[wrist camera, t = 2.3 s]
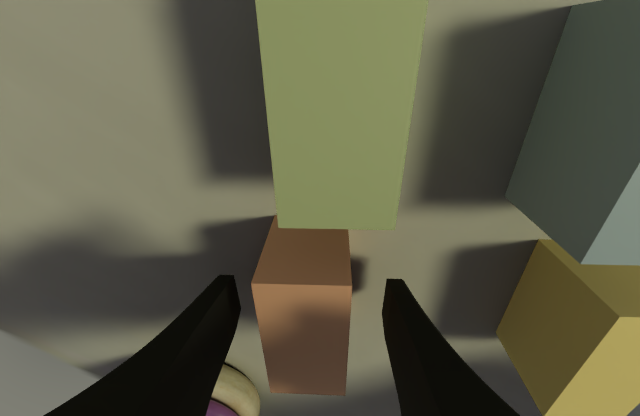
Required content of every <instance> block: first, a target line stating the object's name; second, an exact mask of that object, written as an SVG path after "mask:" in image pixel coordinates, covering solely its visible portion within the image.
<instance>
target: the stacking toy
mask: <svg viewBox="0 0 640 416" xmlns="http://www.w3.org/2000/svg"><path fill="white" fill-rule="evenodd" d="M259 412H260V399H259V395H258V392H257V390H256V388H255V386H254V385H253V383H252V382H251V381H250V380H249V379H248V378H247V377H245V376H244V375H243V374H242V373H240V372H238V371H237V370H235V369H233V368H231V367H229V366H227V365H224V364H223V366H222V369H221V372H220V374H219V377H218V380H217V382H216V385H215V387H214V390H213V393H212V396H211V399H210V403H209V406H208V410H207V413H206V416H259Z"/></svg>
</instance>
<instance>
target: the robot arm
mask: <svg viewBox="0 0 640 416" xmlns="http://www.w3.org/2000/svg"><path fill="white" fill-rule="evenodd" d="M240 311H241V306H240V301H239V297H238V292H237V288H236V283H235V279H234V275H219V276H218V277H217V278H216V279H215V280H214V281H213V282H212V283H211V284H210V285H209V286H208V287H207V288H206V289H205V290H204V291H203V292H202V293H201V294H200V295H199V296H198V297H197V298H196V299H195V300H194V301H193V302H192V303H191V304H190V305H189V306H188V307H187V308H186V309H185V310H184V311H183V312H182V313H181V314H180V315H179V316H178V317H177V318H176V319H175V320H174V321H173V322H172V323H171V324H170V325H168V326H167V327H166V328H165V329H164V330H163V331H162V332H161V333H160V334H159V335H157V336H156V337H155V338H154V339H153V340H152V341H150V342H149V343H148V344H147V345H146V346H144V347H143V348H142V349H141V350H139V351H138V352H137V353H136V354H134V355H133V356H132V357H131V358H129V359H128V360H127V361H125V362H124V363H123V364H121V365H120V366H118V367H117V368H116V369H114V370H113V371H111V372H110V373H109V374H107V375H106V376H104V377H103V378H102V379H100V380H99V381H97V382H96V383H94V384H93V385H91V386H90V387H89V388H87V389H85V390H84V391H82V392H81V393H79V394H78V395H76V396H75V397H73V398H71V399H70V400H68V401H67V402H65V403H64V404H62V405H61V406H59V407H57V408H55V409H54V410H52V411H51V412H49V413H47V414H45V415H44V416H206V413H207V410H208V406H209V403H210V399H211V396H212V393H213V390H214V387H215V385H216V382H217V380H218V377H219V374H220V372H221V369H222V366H223V364H224V361H225V359H226V356H227V353H228V351H229V348H230V345H231V343H232V340H233V337H234V334H235V331H236V328H237V324H238V320H239V315H240ZM382 318H383V327H384V335H385V341H386V345H387V349H388V354H389V358H390V363H391V367H392V371H393V376H394V380H395V384H396V389H397V393H398V398H399V403H400V408H401V415H402V416H520V415H519V414H518V413H517V412H515V411H514V410H513V409H512V408H511V407H510V406H509V405H508V404H507V403H506V402H505V401H504V400H503V399H501V398H500V397H499V396H498V395H497V394H496V393H495V392H494V391H493V390H492V389H491V388H490V387H489V386H488V385H487V384H486V383H485V382H484V381H483V380H482V379H481V378H480V377H479V376H478V375H477V374H476V373H475V372H474V371H473V370H472V369H471V368H470V367H469V366H468V365H467V364H466V363H465V362H464V360H463V359H462V358H461V357H460V356H459V355H458V354H457V353H456V351H455V350H454V349H453V348H452V347H451V346H450V344H449V343H448V342H447V341H446V340H445V338H444V337H443V336H442V335H441V333H440V332H439V331H438V330H437V328H436V327H435V326H434V324H433V323H432V322H431V320H430V319H429V318H428V316H427V315H426V314H425V312H424V311H423V309H422V308H421V307H420V305H419V304H418V302H417V301H416V299H415V298H414V296H413V295H412V293H411V292H410V290H409V288H408V287H407V285H406V284H405V282H404V281H403V280H402V279H387V281H386V288H385V295H384V302H383V309H382ZM627 416H640V403H639V404H638V405H637V406H636V407H635V408H634V409H633V410H632V411H631V412H630V413H629V414H628V415H627Z"/></svg>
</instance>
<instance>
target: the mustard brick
mask: <svg viewBox="0 0 640 416" xmlns="http://www.w3.org/2000/svg"><path fill="white" fill-rule="evenodd" d="M496 334H497V336H498V338H499V339H500V341H501V343H502V345H503V347H504V348H505V350H506V352H507V354H508V356H509V357H510V359H511V361H512V363H513V364H514V366H515V368H516V370H517V372H518V373H519V375H520V377H521V379H522V381H523V382H524V384H525V386H526V388H527V389H528V391H529V393H530V395H531V397H532V398H533V400H534V402H535V404H536V406H537V407H538V409H539V411H540V413H541V414H542V416H627V415H628V414H629V413H630V412H631V411H632V410H633V409H634V408H635V407H636V406H637V405H638V404H639V403H640V265H594V264H580V263H579V262H577V261H576V260H575V259H574V258H573V257H572V256H571V255H570V254H568V253H567V252H566V251H565V250H564V249H563V248H562V247H561V246H559V245H558V244H557V243H556V242H555V241H554V240H544V239H538V242H537V244H536V246H535V248H534V250H533V252H532V255H531V257H530V259H529V261H528V263H527V265H526V268H525V270H524V272H523V274H522V276H521V278H520V281H519V283H518V285H517V287H516V289H515V291H514V294H513V296H512V298H511V300H510V302H509V304H508V307H507V309H506V311H505V313H504V315H503V317H502V320H501V322H500V324H499V326H498V328H497V330H496Z"/></svg>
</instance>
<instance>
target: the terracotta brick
mask: <svg viewBox="0 0 640 416" xmlns="http://www.w3.org/2000/svg"><path fill="white" fill-rule="evenodd" d="M251 287H252V292H253V298H254V303H255V309H256V314H257V320H258V325H259V331H260V336H261V342H262V347H263V353H264V358H265V364H266V369H267V375H268V380H269V386H270V392H271V393H293V394H317V395H342V396H345V392H346V376H347V361H348V345H349V329H350V313H351V297H352V276H351V263H350V250H349V236H348V229H306V228H278V220H277V215H275V216H274V219H273V222H272V225H271V228H270V230H269V233H268V236H267V239H266V242H265V245H264V248H263V250H262V253H261V256H260V259H259V262H258V265H257V268H256V270H255V273H254V276H253V279H252V282H251Z"/></svg>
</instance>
